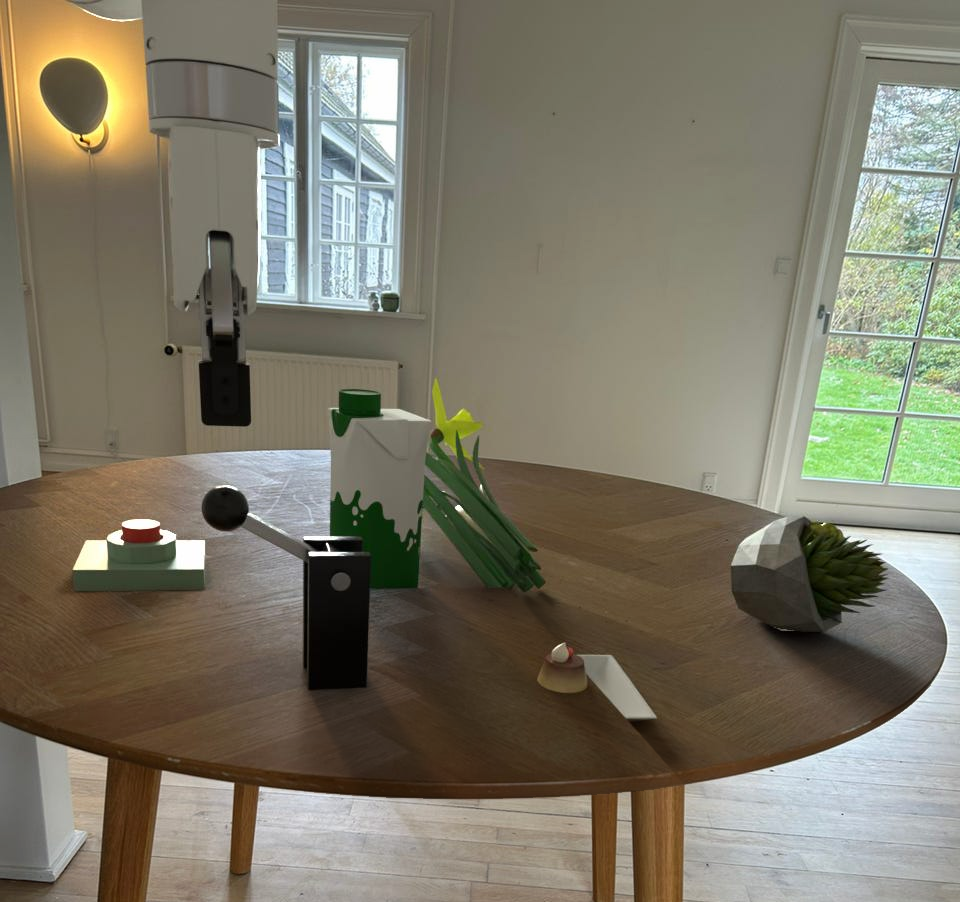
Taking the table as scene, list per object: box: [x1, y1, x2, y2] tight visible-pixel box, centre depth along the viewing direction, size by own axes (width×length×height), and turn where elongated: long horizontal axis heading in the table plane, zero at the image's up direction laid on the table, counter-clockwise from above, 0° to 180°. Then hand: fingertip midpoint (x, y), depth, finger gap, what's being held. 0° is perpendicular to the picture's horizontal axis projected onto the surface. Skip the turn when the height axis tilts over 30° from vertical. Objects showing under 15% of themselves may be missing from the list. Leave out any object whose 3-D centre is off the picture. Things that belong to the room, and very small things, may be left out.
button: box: [121, 518, 161, 543], centre depth 89 cm, size 4×4×2 cm
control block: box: [71, 529, 207, 592], centre depth 90 cm, size 12×10×4 cm
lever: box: [200, 485, 342, 563], centre depth 64 cm, size 12×3×3 cm
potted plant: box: [730, 515, 890, 633], centre depth 89 cm, size 12×13×15 cm
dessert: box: [536, 638, 658, 723], centre depth 71 cm, size 12×12×5 cm
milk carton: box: [327, 388, 432, 590], centre depth 89 cm, size 9×9×20 cm
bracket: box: [302, 535, 371, 691], centre depth 67 cm, size 12×9×12 cm
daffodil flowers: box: [422, 376, 547, 593], centre depth 105 cm, size 17×15×35 cm
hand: (226, 423), depth 59 cm, fingers closed
